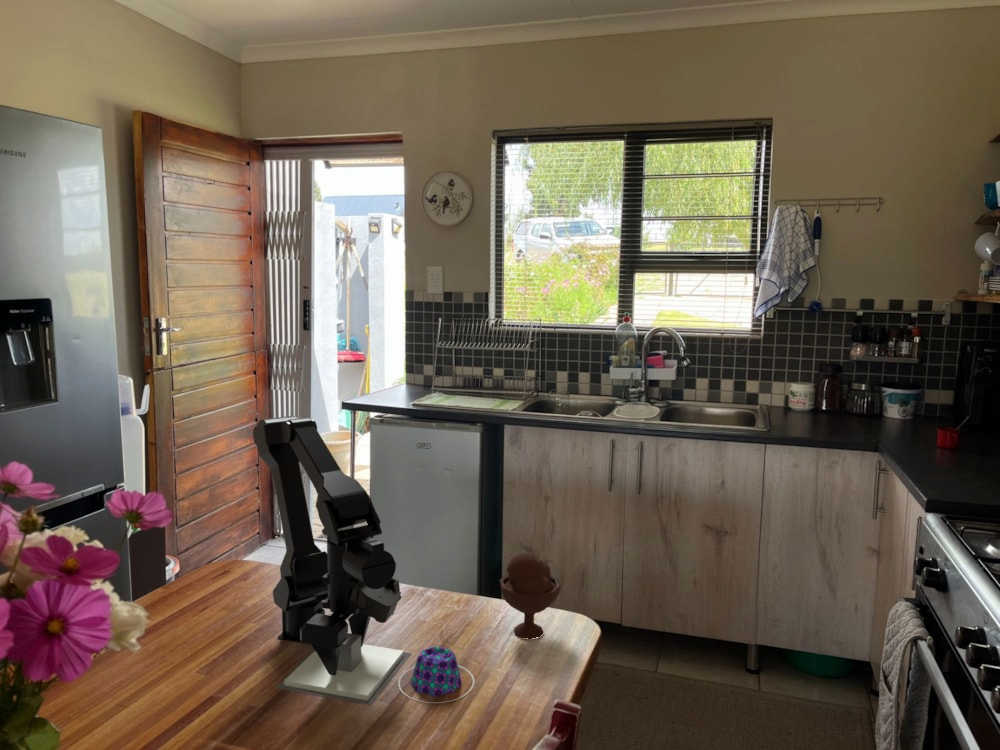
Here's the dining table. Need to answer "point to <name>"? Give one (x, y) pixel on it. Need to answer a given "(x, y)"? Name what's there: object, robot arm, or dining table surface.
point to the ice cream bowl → (529, 591)
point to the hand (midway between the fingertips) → (346, 660)
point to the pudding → (436, 673)
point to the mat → (344, 698)
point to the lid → (347, 670)
